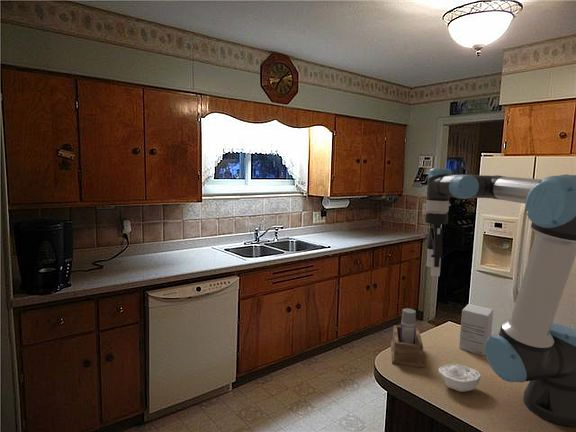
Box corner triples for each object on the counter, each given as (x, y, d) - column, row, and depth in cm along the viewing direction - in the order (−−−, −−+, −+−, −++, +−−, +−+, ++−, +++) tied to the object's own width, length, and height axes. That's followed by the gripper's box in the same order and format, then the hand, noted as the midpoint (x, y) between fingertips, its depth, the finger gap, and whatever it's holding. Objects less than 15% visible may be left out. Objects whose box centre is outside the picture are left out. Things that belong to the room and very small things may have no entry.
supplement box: (464, 340, 146) (468, 303, 144) (490, 347, 141) (494, 308, 139) (458, 348, 139) (461, 309, 137) (484, 356, 134) (488, 315, 132)
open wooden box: (423, 367, 124) (425, 347, 124) (392, 363, 127) (393, 343, 126) (418, 345, 140) (419, 327, 140) (390, 342, 143) (391, 324, 142)
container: (402, 347, 137) (404, 307, 135) (415, 351, 134) (418, 310, 132) (397, 352, 133) (400, 310, 131) (410, 356, 130) (413, 314, 128)
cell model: (487, 396, 109) (490, 374, 108) (448, 398, 108) (450, 376, 107) (467, 377, 119) (469, 357, 118) (431, 379, 118) (432, 358, 117)
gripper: (455, 216, 121) (449, 281, 124) (442, 209, 145) (438, 263, 148) (430, 215, 123) (425, 279, 125) (422, 208, 147) (418, 262, 149)
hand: (432, 271), depth 137 cm, fingers open, 13 cm apart
